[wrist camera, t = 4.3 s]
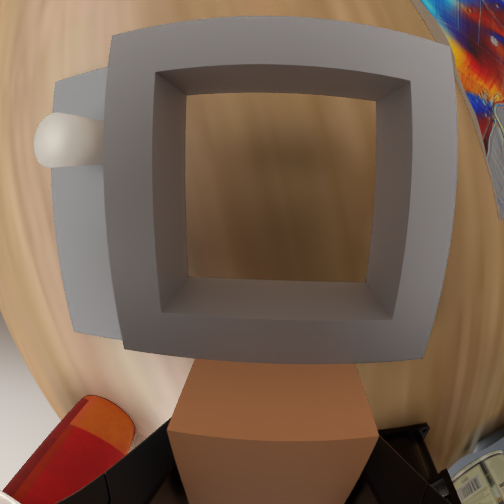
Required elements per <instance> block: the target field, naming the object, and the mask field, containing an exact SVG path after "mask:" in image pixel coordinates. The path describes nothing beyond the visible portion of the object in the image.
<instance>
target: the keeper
mask: <svg viewBox="0 0 504 504" xmlns="http://www.w3.org/2000/svg"><path fill="white" fill-rule="evenodd" d="M107 71H108V67H105V68H101V69H97V70H94V71H90V72H86V73H83V74H79V75H76V76H73V77H70V78H66V79H63V80H60V81H57V82H55V91H54V101H53V113H51V114H49V115H48V116H46V117H45V118H44V119H43V120H42V121H41V123H40V124H39V126H38V128H37V130H36V133H35V137H34V153H35V156H36V159H37V160H38V162H39V163H40V164H41V165H42V166H44V167H47V168H51V178H52V199H53V212H54V223H55V233H56V241H57V249H58V256H59V262H60V269H61V274H62V280H63V285H64V290H65V295H66V300H67V305H68V309H69V314H70V318H71V322H72V326H73V330H74V332H78V333H83V334H88V335H94V336H99V337H105V338H111V339H117V340H122V336H121V331H120V325H119V320H118V315H117V309H116V303H115V297H114V291H113V284H112V277H111V269H110V261H109V252H108V243H107V232H106V219H105V203H104V179H103V132H104V108H105V93H106V81H107Z"/></svg>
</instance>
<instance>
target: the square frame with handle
mask: <svg viewBox="0 0 504 504" xmlns="http://www.w3.org/2000/svg"><path fill="white" fill-rule="evenodd" d="M244 92H268V93H298V94H314V95H327V96H338V97H347V98H355V99H363V100H370V101H376V129H377V134H376V177H375V196H374V210H373V222H372V233H371V243H370V252H369V261H368V269H367V276H366V282H323V281H286V280H256V279H231V278H209V277H189V276H188V261H187V238H186V203H185V129H186V96H187V95H197V94H213V93H244ZM457 163H458V126H457V104H456V91H455V81H454V72H453V64H452V57H451V50H450V46H447V45H444V44H441V43H438V42H434V41H431V40H428V39H424V38H421V37H417V36H414V35H410V34H406V33H402V32H398V31H394V30H389V29H385V28H380V27H375V26H370V25H364V24H358V23H352V22H345V21H338V20H329V19H320V18H308V17H292V16H236V17H220V18H208V19H198V20H190V21H182V22H175V23H169V24H163V25H158V26H152V27H147V28H142V29H138V30H133V31H129V32H125V33H121V34H117V35H113V36H112V40H111V47H110V54H109V62H108V71H107V81H106V93H105V108H104V132H103V179H104V203H105V219H106V232H107V243H108V252H109V261H110V269H111V277H112V284H113V291H114V297H115V303H116V309H117V315H118V320H119V325H120V331H121V336H122V340H123V345H124V349H127V350H134V351H140V352H147V353H154V354H161V355H169V356H178V357H186V358H195V360H194V363H193V365H192V368H191V370H190V373H189V375H188V378H187V380H186V383H185V385H184V388H183V390H182V393H181V395H180V398H179V400H178V403H177V405H176V408H175V410H174V413H173V415H172V418H171V420H170V423H169V425H168V428H167V433H168V437H169V440H170V444H171V448H172V451H173V454H174V458H175V461H176V464H177V468H178V471H179V474H180V477H181V480H182V483H183V486H184V489H185V492H186V495H187V498H188V501H189V504H344V503H345V502H346V500H347V498H348V497H349V495H350V493H351V491H352V490H353V488H354V486H355V484H356V482H357V480H358V479H359V477H360V475H361V473H362V471H363V469H364V467H365V465H366V463H367V461H368V459H369V457H370V455H371V453H372V451H373V449H374V446H375V444H376V442H377V440H378V438H379V434H378V430H377V427H376V424H375V421H374V418H373V415H372V412H371V409H370V406H369V403H368V400H367V397H366V394H365V391H364V388H363V385H362V382H361V379H360V377H359V374H358V371H357V368H356V365H355V363H375V362H391V361H403V360H414V359H423V356H424V353H425V350H426V347H427V344H428V341H429V337H430V334H431V330H432V327H433V323H434V319H435V316H436V312H437V308H438V304H439V299H440V295H441V291H442V286H443V281H444V276H445V271H446V266H447V261H448V255H449V249H450V242H451V235H452V227H453V219H454V210H455V199H456V185H457Z"/></svg>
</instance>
